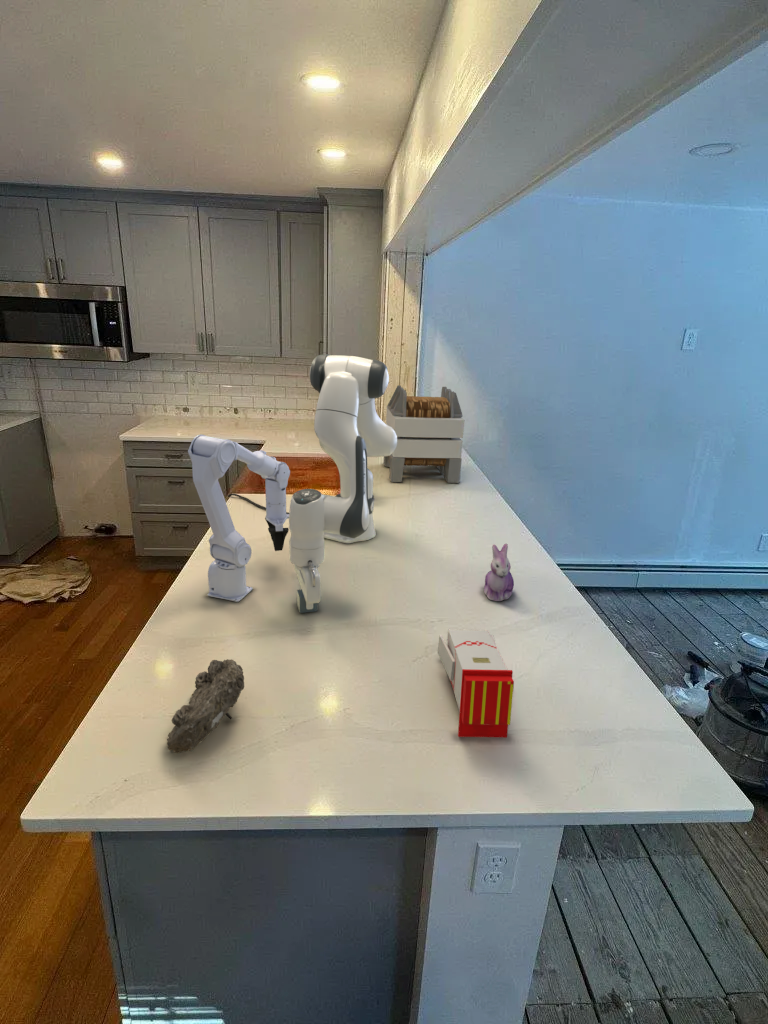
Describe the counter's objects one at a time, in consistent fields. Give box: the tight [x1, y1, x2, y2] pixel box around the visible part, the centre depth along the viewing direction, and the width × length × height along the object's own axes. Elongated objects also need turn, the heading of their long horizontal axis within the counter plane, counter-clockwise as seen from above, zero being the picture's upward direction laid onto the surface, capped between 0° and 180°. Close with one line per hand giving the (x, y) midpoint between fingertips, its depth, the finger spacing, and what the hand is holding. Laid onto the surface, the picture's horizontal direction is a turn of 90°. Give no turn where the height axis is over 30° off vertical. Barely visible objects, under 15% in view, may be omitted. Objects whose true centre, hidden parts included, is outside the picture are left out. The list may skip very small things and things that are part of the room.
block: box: [296, 588, 319, 614], centre depth 148 cm, size 4×5×4 cm
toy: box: [437, 628, 515, 738], centre depth 117 cm, size 12×13×30 cm
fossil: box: [166, 658, 245, 754], centre depth 106 cm, size 22×10×15 cm
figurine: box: [483, 543, 515, 602], centre depth 157 cm, size 9×10×15 cm
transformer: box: [383, 384, 465, 484], centre depth 268 cm, size 34×33×41 cm
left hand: (277, 545), depth 167 cm, fingers open, 7 cm apart
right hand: (307, 601), depth 148 cm, fingers open, 5 cm apart
